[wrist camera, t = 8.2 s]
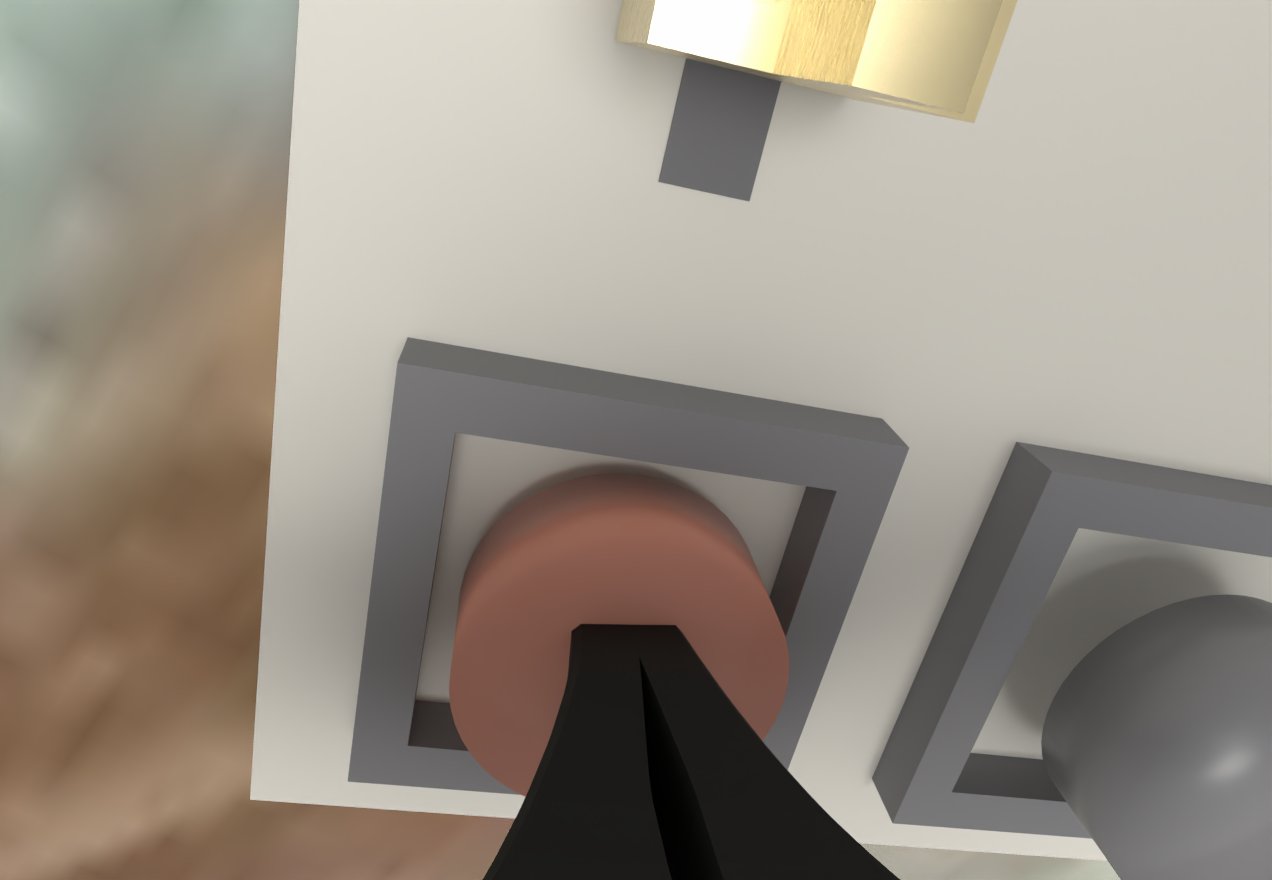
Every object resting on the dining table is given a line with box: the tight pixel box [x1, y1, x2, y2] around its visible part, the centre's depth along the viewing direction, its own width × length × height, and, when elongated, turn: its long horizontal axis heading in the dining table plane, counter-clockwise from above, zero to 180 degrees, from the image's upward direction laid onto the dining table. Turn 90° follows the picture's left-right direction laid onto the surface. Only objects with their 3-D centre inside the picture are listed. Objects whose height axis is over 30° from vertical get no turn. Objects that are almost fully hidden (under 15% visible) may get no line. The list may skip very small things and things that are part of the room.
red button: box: [449, 473, 789, 797], centre depth 12 cm, size 4×4×2 cm
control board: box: [250, 0, 1272, 861], centre depth 12 cm, size 18×24×3 cm
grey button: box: [1041, 594, 1272, 880], centre depth 13 cm, size 4×4×2 cm
